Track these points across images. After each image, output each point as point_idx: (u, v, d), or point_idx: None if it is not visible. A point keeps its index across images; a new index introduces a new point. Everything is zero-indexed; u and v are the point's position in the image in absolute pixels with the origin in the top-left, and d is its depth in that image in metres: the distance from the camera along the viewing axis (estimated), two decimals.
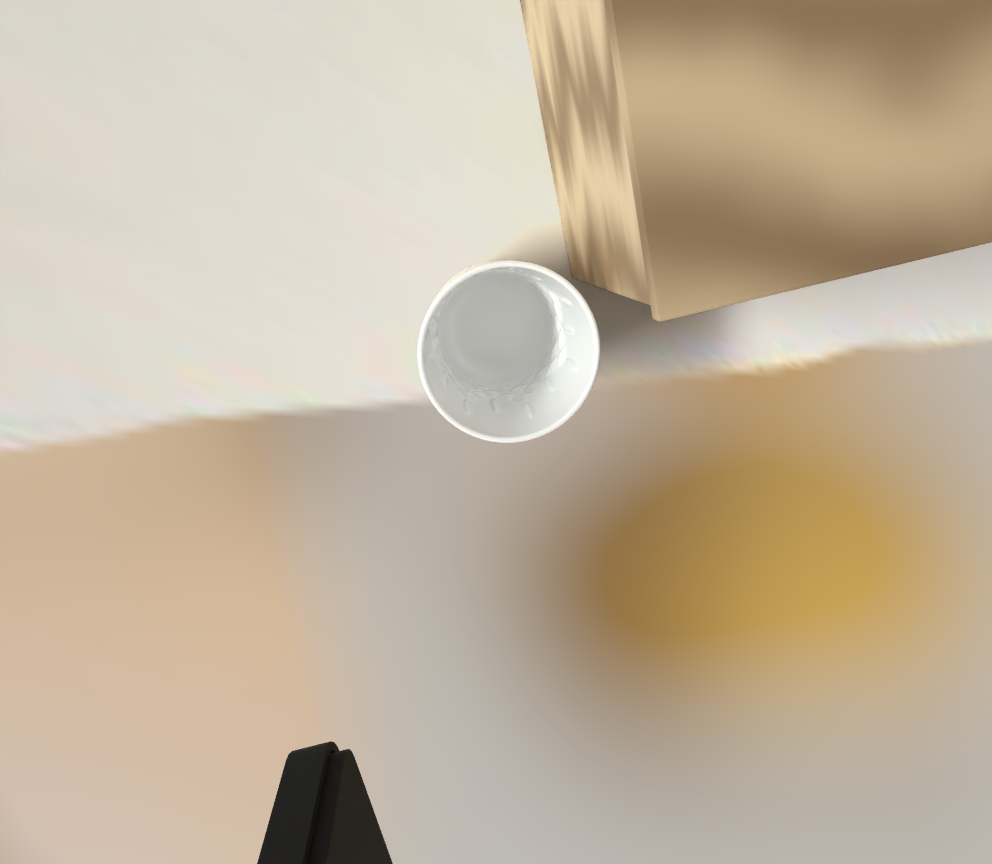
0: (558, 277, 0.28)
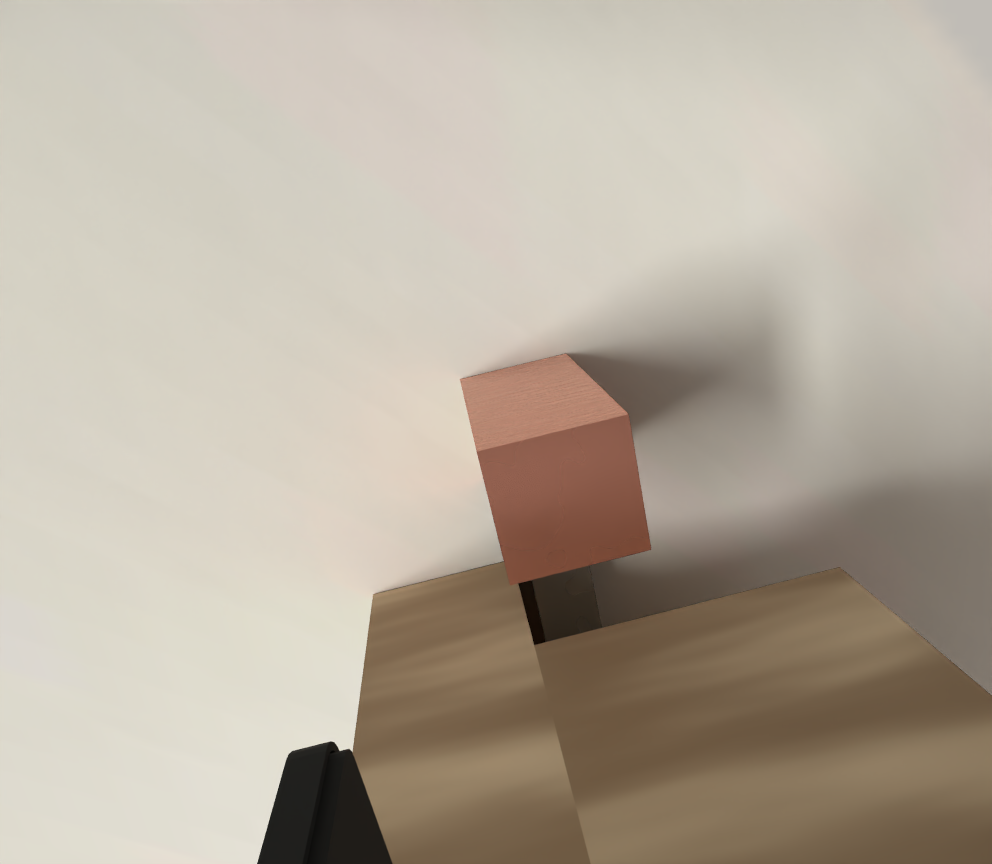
0: None
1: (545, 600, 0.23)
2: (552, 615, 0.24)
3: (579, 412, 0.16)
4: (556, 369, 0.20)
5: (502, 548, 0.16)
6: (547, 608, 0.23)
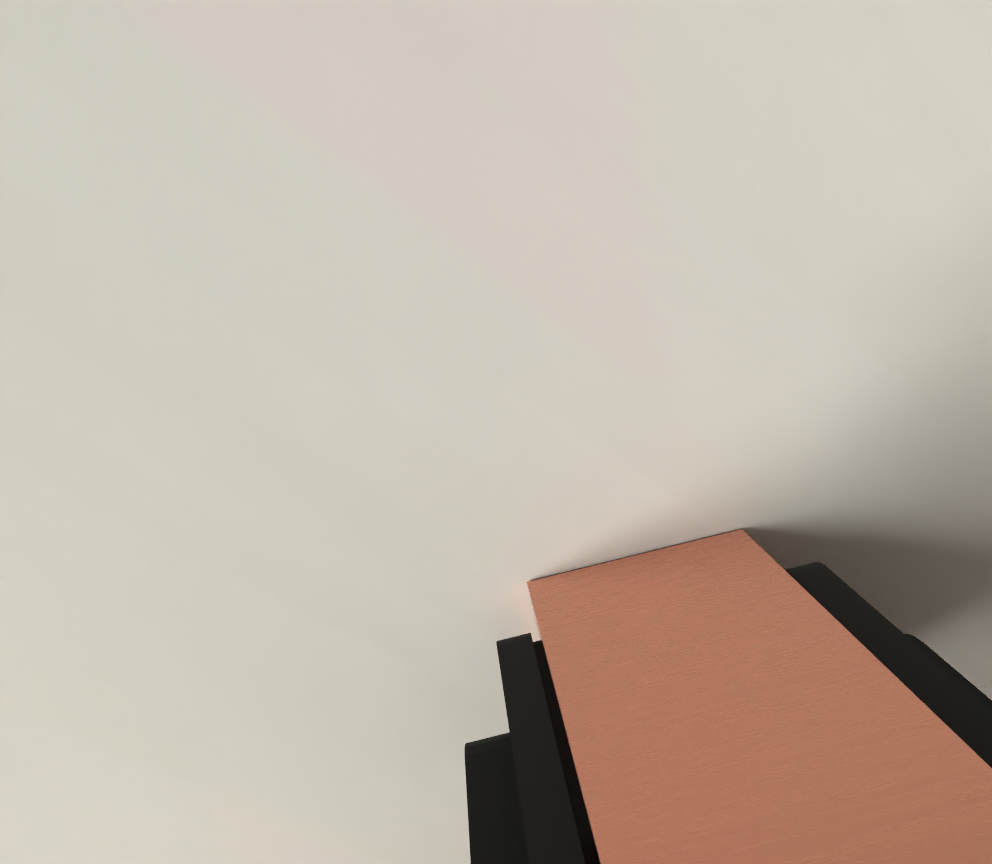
0: None
1: None
2: None
3: None
4: (750, 591, 0.09)
5: None
6: None
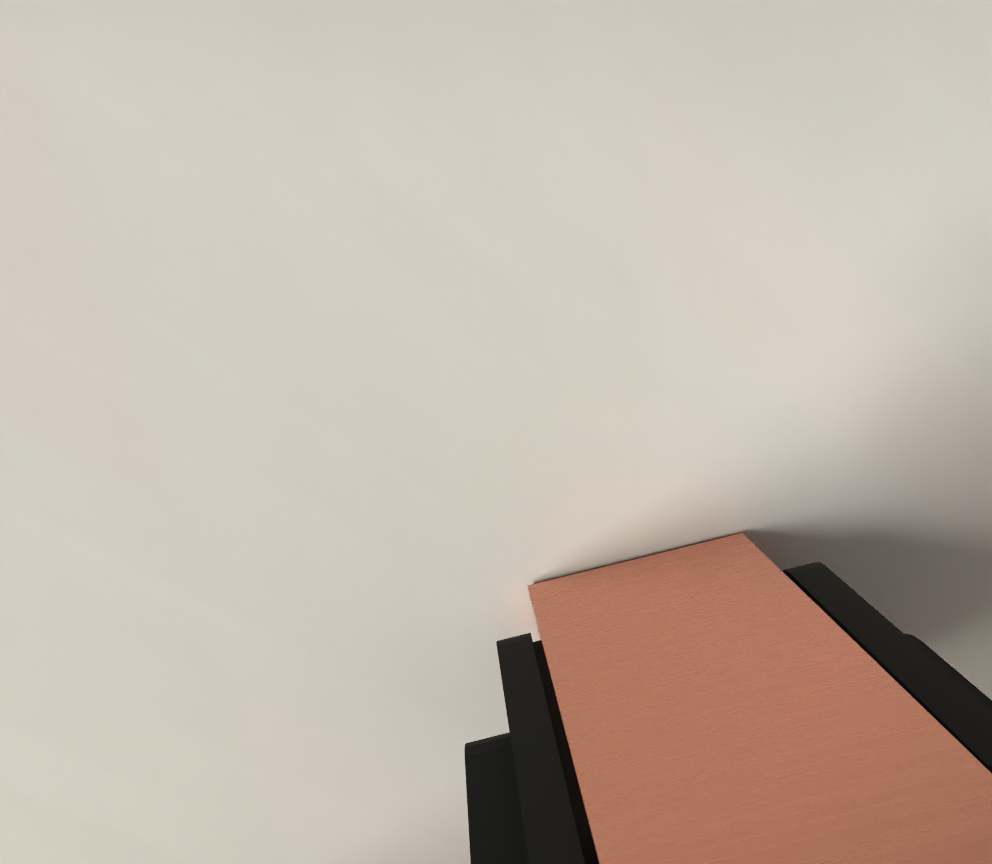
0: None
1: None
2: None
3: None
4: (749, 594, 0.09)
5: None
6: None
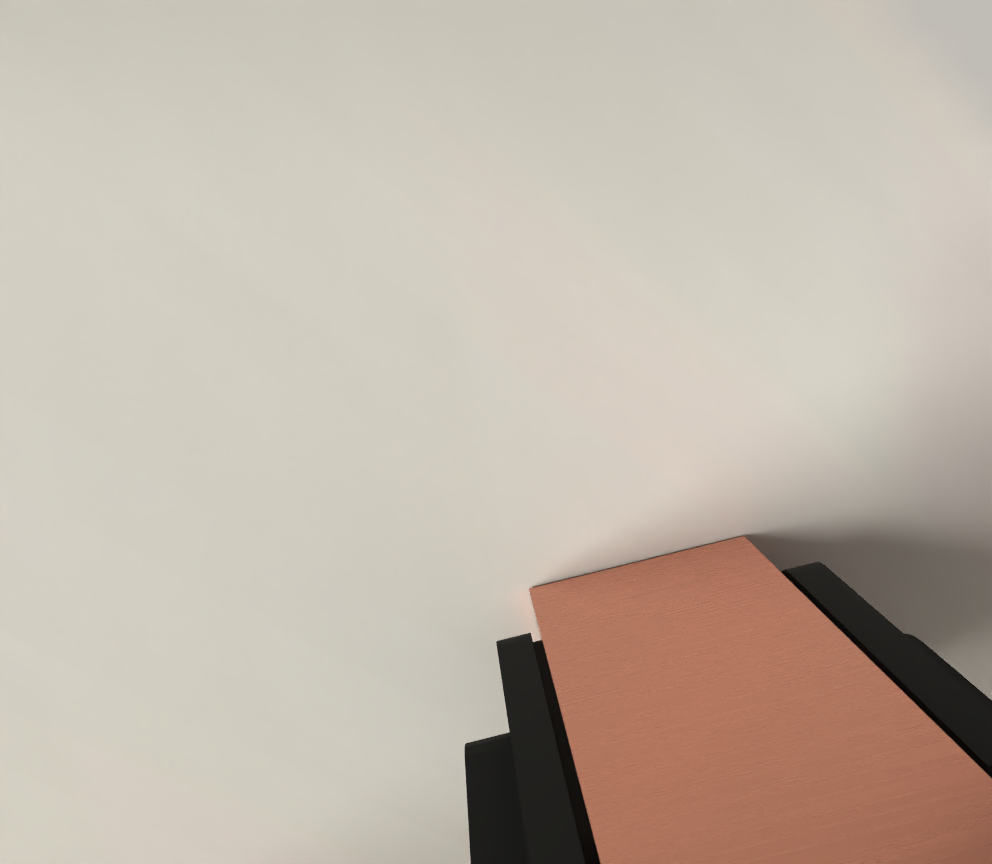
0: None
1: None
2: None
3: None
4: (751, 598, 0.09)
5: None
6: None
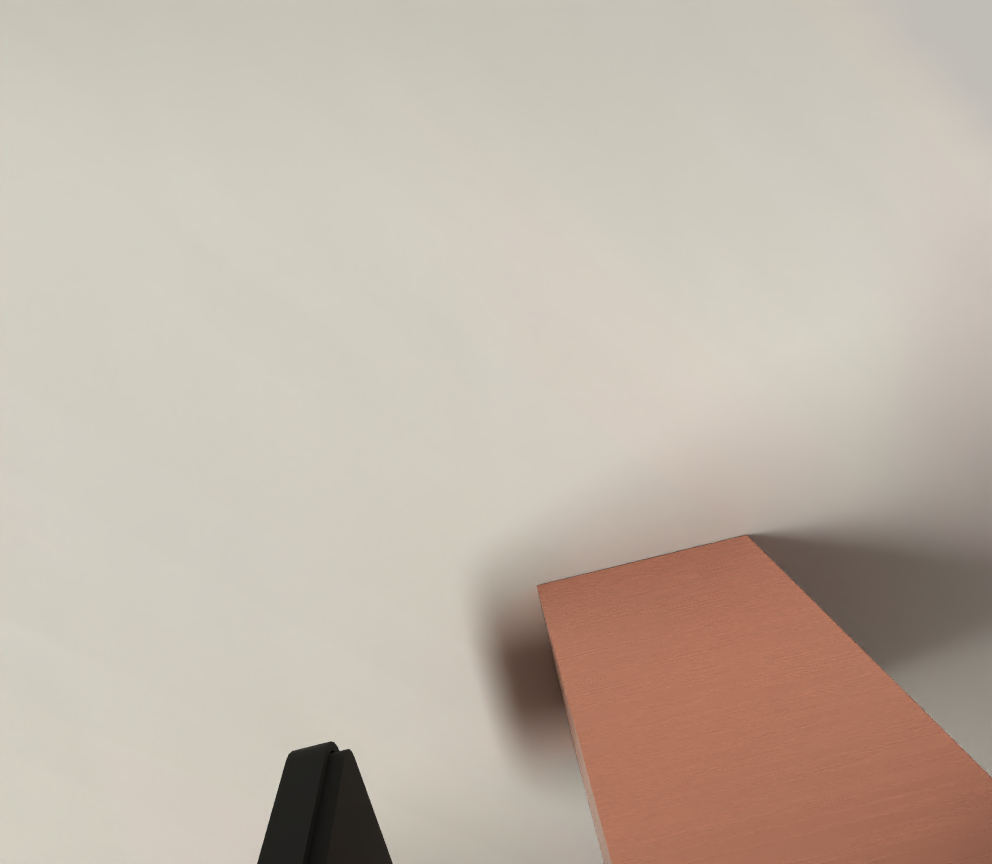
0: None
1: None
2: None
3: None
4: (754, 596, 0.09)
5: None
6: None
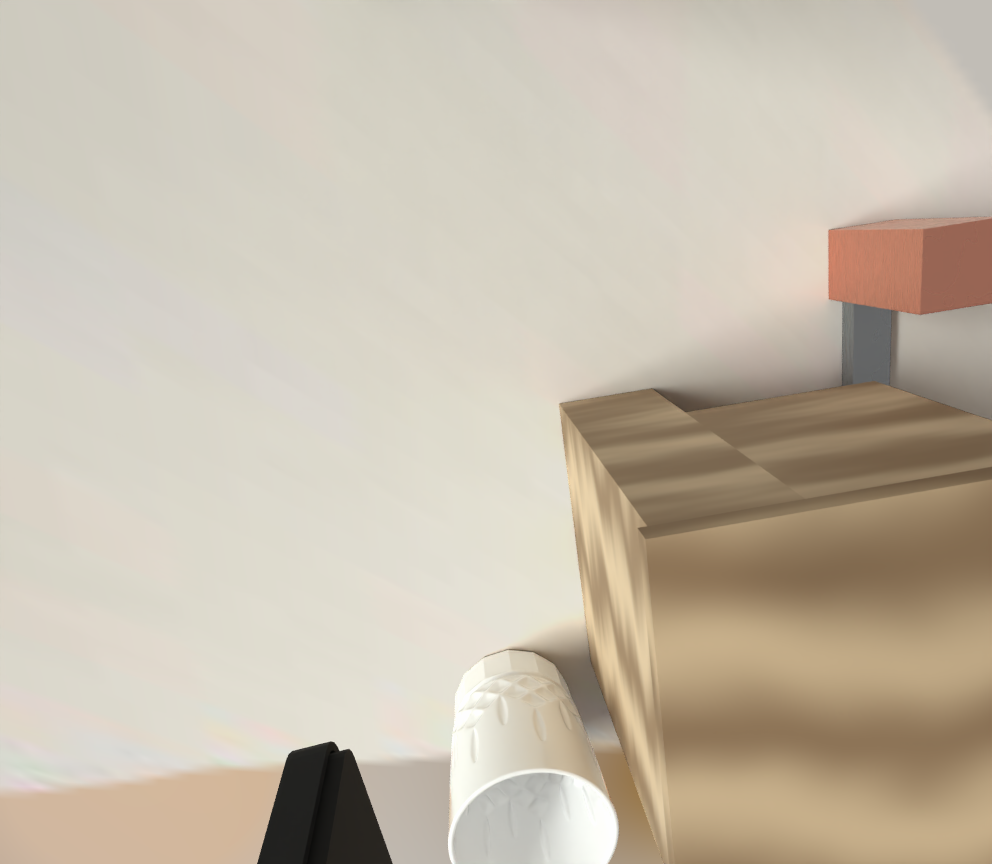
0: (585, 781, 0.30)
1: None
2: None
3: (967, 220, 0.29)
4: (904, 220, 0.33)
5: (921, 290, 0.28)
6: None
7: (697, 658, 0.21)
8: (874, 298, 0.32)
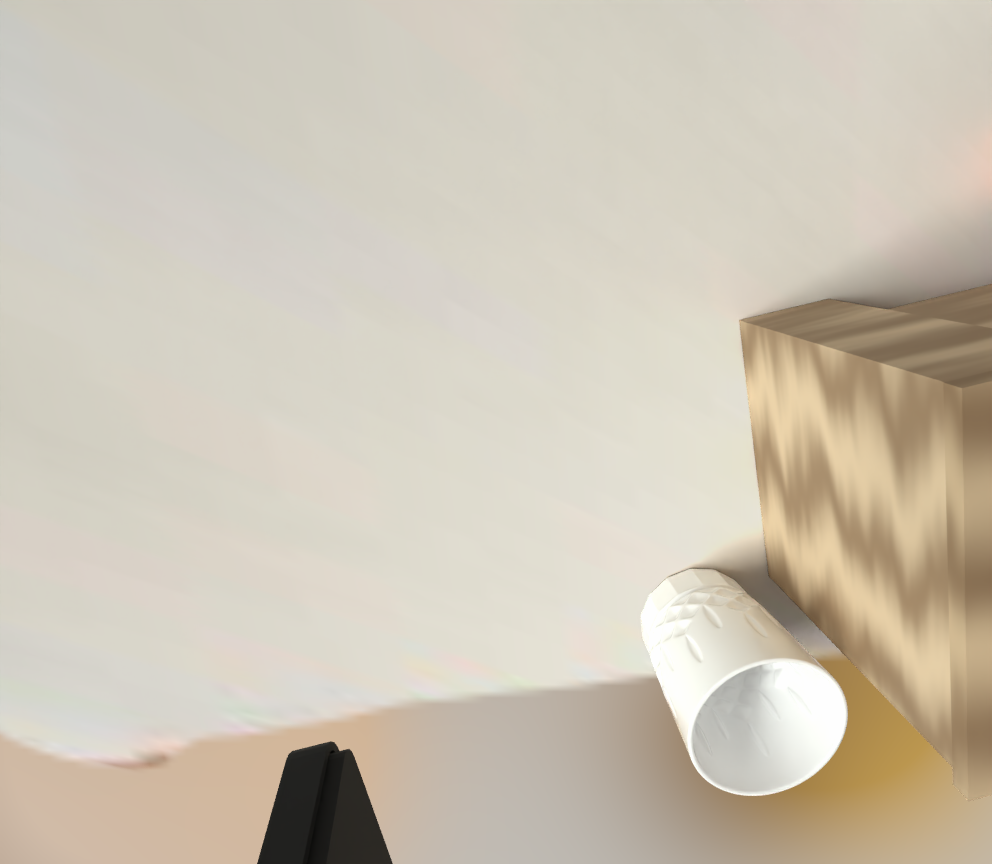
0: (818, 669, 0.32)
1: None
2: None
3: None
4: None
5: None
6: None
7: None
8: None
